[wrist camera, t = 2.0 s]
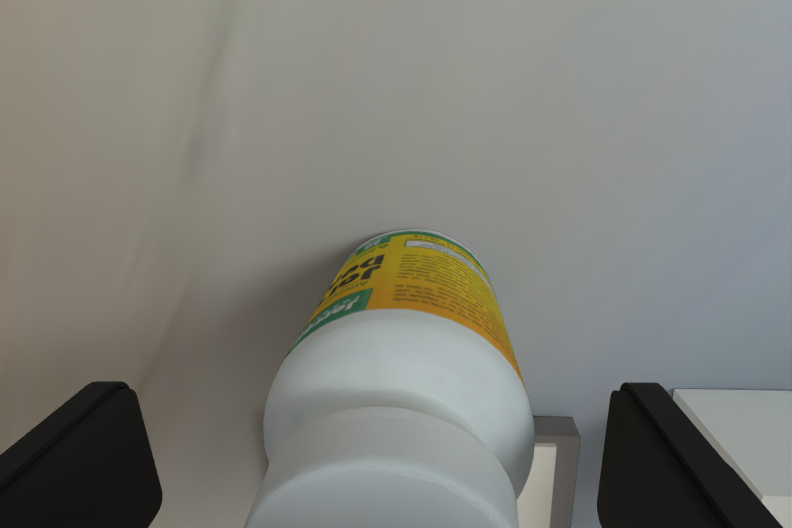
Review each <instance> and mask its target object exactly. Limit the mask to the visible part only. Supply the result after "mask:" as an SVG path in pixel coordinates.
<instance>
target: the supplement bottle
mask: <svg viewBox="0 0 792 528" xmlns="http://www.w3.org/2000/svg"><path fill="white" fill-rule="evenodd" d="M263 437H264V445H265V451H266V455H267V459H268V462H269V466H268V469H267V472H266V474H265V477H264V480H263V482H262V485H261V487H260V489H259V492H258V494H257V497H256V499H255V501H254V504H253V506H252V508H251V511H250V513H249V515H248V518H247V520H246V523H245V527H244V528H519V522H518V511H517V499H518V498H519V496H520V494H521V492H522V491H523V489H524V486H525V484H526V482H527V479H528V477H529V474H530V470H531V467H532V462H533V457H534V448H535V428H534V420H533V415H532V410H531V406H530V402H529V399H528V396H527V393H526V389H525V386H524V383H523V380H522V377H521V374H520V371H519V368H518V365H517V362H516V359H515V356H514V353H513V350H512V346H511V343H510V340H509V337H508V334H507V331H506V328H505V325H504V321H503V318H502V315H501V312H500V309H499V306H498V303H497V300H496V297H495V294H494V291H493V288H492V285H491V282H490V279H489V277H488V275H487V273H486V271H485V269H484V268H483V266H482V264H481V263H480V261H479V260H478V259H477V258H476V256H475V255H474V254H473V253H472V252H471V251H470V250H468V249H467V248H466V247H465V246H463V245H462V244H461V243H459V242H458V241H456V240H454V239H452V238H451V237H448V236H446V235H444V234H442V233H439V232H436V231H432V230H423V229H404V230H396V231H391V232H388V233H385V234H381V235H379V236H377V237H374V238H372V239H370V240H368V241H367V242H365V243H364V244H362V245H361V246H360V247H359V248H357V249H356V250H355V251H354V252H353V253H352V254H351V256H350V257H349V258H348V259H347V261H346V262H345V264H344V265H343V266H342V268H341V269H340V271H339V272H338V274H337V276H336V278H335V279H334V281H333V282H332V284H331V286H330V287H329V288H328V290H327V292H326V294H325V295H324V297H323V299H322V300H321V302H320V303H319V305H318V306H317V308H316V310H315V312H314V313H313V315H312V317H311V318H310V320H309V321H308V323H307V325H306V326H305V328H304V329H303V331H302V333H301V334H300V336H299V337H298V339H297V340H296V342H295V343H294V345H293V347H292V348H291V349H290V351H289V353H288V354H287V356H286V357H285V358H284V360H283V362H282V364H281V366H280V368H279V370H278V372H277V375H276V377H275V379H274V381H273V383H272V385H271V388H270V391H269V394H268V397H267V401H266V406H265V412H264V421H263Z"/></svg>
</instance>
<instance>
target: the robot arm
mask: <svg viewBox="0 0 792 528" xmlns="http://www.w3.org/2000/svg"><path fill="white" fill-rule="evenodd" d="M161 503H162V489H161V485H160V482H159V478H158V474H157V470H156V467H155V463H154V459H153V455H152V451H151V448H150V444H149V440H148V436H147V432H146V429H145V425H144V421H143V417H142V413H141V410H140V406H139V402H138V398H137V395H136V393H135V391H134V390H132V389H130V388H129V386H128V385H127V384H126V383H124V382H92V383H90V384H88V385H87V386H85V387H84V388H83V389H82V390H80V391H79V392H78V393H77V394H75V395H74V396H73V397H72V398H70V399H69V400H68V401H67V402H66V403H64V404H63V405H62V406H61V407H59V408H58V409H57V410H56V411H54V412H53V413H52V414H51V415H49V416H48V417H47V418H46V419H44V420H43V421H42V422H41V423H40V424H38V425H37V426H36V427H35V428H33V429H32V430H31V431H30V432H28V433H27V434H26V435H25V436H23V437H22V438H21V439H20V440H18V441H17V442H16V443H15V444H14V445H12V446H11V447H10V448H9V449H7V450H6V451H5V452H4V453H2V454H1V455H0V528H148V527H149V525H150V524H151V522H152V521H153V519H154V518H155V516H156V515H157V513H158V511H159V509H160V507H161ZM597 511H598V517H599V521H600V524H601V526H602V528H783V527H782V526H781V524H780V523H779V522H778V521H777V520H776V518H775V517H774V516H773V515H772V514H771V513H770V511H769V510H768V509H767V508H766V507H765V506H764V504H763V503H762V502H761V501H760V500H759V498H758V497H757V496H756V495H755V494H754V493H753V491H752V490H751V489H750V488H749V487H748V485H747V484H746V483H745V482H744V481H743V480H742V478H741V477H740V476H739V475H738V474H737V472H736V471H735V470H734V469H733V468H732V467H731V466H730V465H729V464H727V463H726V462H725V461H724V460H723V458H722V457H721V456H720V455H719V454H718V452H717V451H716V450H715V449H714V448H713V447H712V445H711V444H710V443H709V442H708V441H707V439H706V438H705V437H704V436H703V435H702V433H701V432H700V431H699V430H698V429H697V428H696V426H695V425H694V424H693V423H692V422H691V420H690V419H689V418H688V417H687V416H686V414H685V413H684V412H683V411H682V410H681V409H680V407H679V406H678V405H677V404H676V403H675V401H674V400H673V399H672V398H671V397H670V395H669V394H668V393H667V392H666V391H665V390H664V388H663V387H662V386H661V385H660V384H658V383H624V384H622V386H621V388H620V391H613V392H612V394H611V398H610V405H609V413H608V421H607V428H606V436H605V444H604V452H603V460H602V467H601V475H600V483H599V491H598V499H597Z"/></svg>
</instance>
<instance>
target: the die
mask: <svg viewBox="0 0 792 528" xmlns="http://www.w3.org/2000/svg"><path fill="white" fill-rule="evenodd" d="M672 399H673V400H674V401H675V403H676V404H677V405H678V406H679V407H680V409H681V410H682V411H683V412H684V413H685V414H686V416H687V417H688V418H689V419H690V420H691V422H692V423H693V424H694V425H695V426H696V428H697V429H698V430H699V431H700V432H701V433H702V435H703V436H704V437H705V438H706V439H707V441H708V442H709V443H710V444H711V445H712V447H713V448H714V449H715V450H716V451H717V452H718V454H719V455H720V456H721V457H722V458H723V460H724V461H725V462H726V463H727V464H729V465H730V466H731V467H732V468H733V469H734V470H735V471H736V472H737V474H738V475H739V476H740V477H741V478H742V480H743V481H744V482H745V483H746V484H747V485H748V487H749V488H750V489H751V490H752V491H753V493H754V494H755V495H756V496H757V497H758V498H759V500H760V501H761V502H762V503H763V504H764V506H765V507H766V508H767V509H768V510H769V511H770V513H771V514H772V515H773V516H774V517H775V518H776V520H777V521H778V522H779V523H780V524H781V526H782V527H783V528H792V391H784V390H719V389H674V392H673V398H672Z"/></svg>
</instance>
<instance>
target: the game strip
mask: <svg viewBox="0 0 792 528" xmlns="http://www.w3.org/2000/svg"><path fill="white" fill-rule="evenodd" d="M533 420H534V428H535V448H534V457H533V462H532V467H531V470H530V474H529V477H528V479H527V482H526V484H525V486H524V489H523V491H522V492H521V494H520V496H519V498H518V499H517V511H518V522H519V528H571V519H572V510H573V500H574V491H575V482H576V473H577V463H578V454H579V445H580V435H579V432H578V430H577V428H576V425H575V423H574V421H573V418H572V417H533Z"/></svg>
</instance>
